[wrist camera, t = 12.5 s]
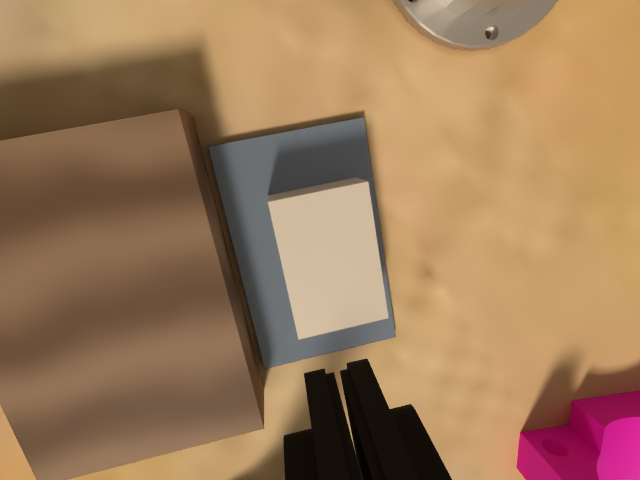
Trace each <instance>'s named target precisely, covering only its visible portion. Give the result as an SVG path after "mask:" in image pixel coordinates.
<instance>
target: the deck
mask: <svg viewBox="0 0 640 480" xmlns="http://www.w3.org/2000/svg"><path fill="white" fill-rule="evenodd" d="M0 405H1V407H2V409H3V411H4V413H5V415H6V417H7V419H8V421H9V423H10V426H11V428H12V430H13V432H14V434H15V436H16V438H17V440H18V442H19V444H20V446H21V448H22V450H23V453H24V455H25V457H26V459H27V461H28V463H29V465H30V467H31V469H32V471H33V473H34V475H35V477H36V480H67V479H71V478H75V477H79V476H83V475H87V474H91V473H94V472H98V471H102V470H106V469H110V468H114V467H118V466H121V465H125V464H129V463H133V462H137V461H141V460H145V459H148V458H152V457H156V456H160V455H164V454H168V453H172V452H175V451H179V450H183V449H187V448H191V447H195V446H199V445H202V444H206V443H210V442H214V441H218V440H222V439H226V438H229V437H233V436H237V435H241V434H245V433H249V432H253V431H256V430H260V429H264V388H263V385H262V381H261V377H260V373H259V369H258V365H257V361H256V358H255V354H254V350H253V346H252V342H251V338H250V335H249V331H248V327H247V323H246V319H245V315H244V312H243V308H242V304H241V300H240V296H239V292H238V288H237V285H236V281H235V277H234V273H233V269H232V265H231V262H230V258H229V254H228V250H227V246H226V242H225V238H224V235H223V231H222V227H221V223H220V219H219V215H218V212H217V208H216V204H215V200H214V196H213V192H212V188H211V185H210V181H209V177H208V173H207V169H206V165H205V162H204V158H203V154H202V150H201V146H200V142H199V139H198V135H197V131H196V127H195V123H194V119H193V115H191V114H189V113H186V112H184V111H182V110H179V109H175V110H170V111H164V112H158V113H153V114H147V115H142V116H136V117H130V118H125V119H119V120H114V121H108V122H102V123H97V124H91V125H85V126H80V127H74V128H69V129H63V130H57V131H52V132H46V133H41V134H35V135H29V136H24V137H18V138H12V139H7V140H1V141H0Z"/></svg>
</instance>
